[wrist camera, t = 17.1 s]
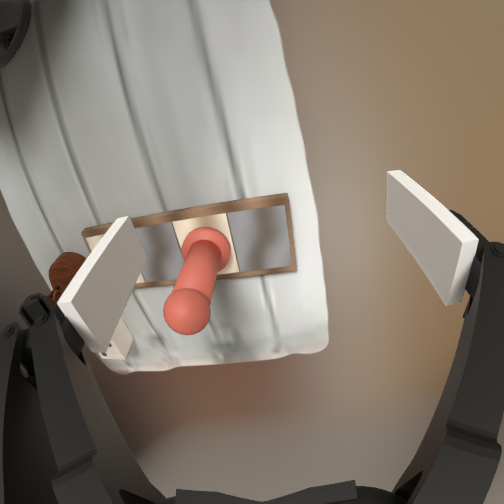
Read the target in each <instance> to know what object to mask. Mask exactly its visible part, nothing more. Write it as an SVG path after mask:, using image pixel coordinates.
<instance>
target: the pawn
mask: <svg viewBox="0 0 504 504" xmlns="http://www.w3.org/2000/svg"><path fill="white" fill-rule="evenodd" d="M230 253H231V246H230V243H229V240H228V239H227V237H226V236H225V235H224V234H223V233H222V232H220V231H219V230H217V229H214V228H211V227H199V228H196V229H194V230H192V231H191V232H189V233H188V235H187V236H186V238H185V240H184V242H183V244H182V247H181V254H182V257H183V260H184V264H183V266H182V269H181V271H180V273H179V276H178V278H177V281H176V283H175V286H174V288H173V291H172V294H170V295H169V297H168V298H167V300H166V301H165V304H164V310H163V312H164V318H165V321H166V323H167V324H168V326H169V327H170V328H171V329H172V330H173V331H175V332H177V333H179V334H182V335H193V334H196V333H198V332H200V331H201V330H202V329H204V328H205V326H206V325H207V323H208V321H209V319H210V302H211V298H212V294H213V289H214V285H215V281H216V276H217V272H219V271H221V270H222V269H224V268H225V267H226V265H227V264H228V262H229V258H230Z"/></svg>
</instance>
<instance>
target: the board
mask: <svg viewBox="0 0 504 504" xmlns="http://www.w3.org/2000/svg"><path fill="white" fill-rule="evenodd" d="M131 221H132V224H133V226H134V229H135V231H136V233H137V236H138V238H139V241H140V243H141V246H142V248H143V250H144V253H145V255H146V257H147V260H146V262H145V264H144V266H143V269H142V271H141V273H140V275H139V277H138V279H137V281H136V283H135V286H134V288H141V287H152V286H162V285H172V284H175V283H176V281H177V278H178V276H179V273H180V271H181V269H182V266H183V264H184V260H183V257H182V254H181V247H182V244H183V242H184V240H185V238H186V236H187V235H188V233H189V232H191V231H192V230H194V229H196V228H199V227H211V228H214V229H217V230H219V231H220V232H222V233H223V234H224V235H225V236H226V237H227V239H228V240H229V243H230V246H231V253H230V258H229V262H228V264H227V265H226V267H225V268H224V269H222V270H221V271H219V272H217V276H216V280H219V279H228V278H237V277H246V276H254V275H263V274H271V273H279V272H288V271H296V270H297V269H296V260H295V251H294V242H293V233H292V225H291V216H290V208H289V201H288V194H287V193H283V194H276V195H268V196H261V197H254V198H247V199H240V200H234V201H227V202H221V203H215V204H209V205H203V206H197V207H191V208H185V209H179V210H174V211H168V212H163V213H158V214H152V215H147V216H142V217H137V218H132V219H131ZM113 223H114V222H113ZM113 223H108V224H103V225H99V226H94V227H90V228H85V229H84V230H83V231H82V232H81V233H82V236H83V238H84V240H85V243H86V245H87V247H88V249H89V252H90V253H91V252H92V251H93V249H94V248H95V247H96V245H97V244H98V243H99V241H100V240H101V239H102V237H103V236H104V235H105V233H106V232H107V231H108V229H109V228H110V227H111V226H112V224H113Z"/></svg>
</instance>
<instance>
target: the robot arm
mask: <svg viewBox="0 0 504 504" xmlns="http://www.w3.org/2000/svg"><path fill="white" fill-rule="evenodd" d="M29 19H30V1H29V0H0V68H1V67H2V66H4V65H5V64H6V63H7V62H8V61H9V60H10V59H11V58H12V57H13V56H14V54H15V53H16V51H17V50H18V48H19V46H20V45H21V43H22V41H23V38H24V36H25V33H26V31H27V28H28V24H29ZM386 215H387V216H386V221H387V222H388V223H389V225H390V226H391V227H392V229H393V230H394V231H395V233H396V234H397V235H398V237H399V238H400V239H401V241H402V242H403V243H404V245H405V246H406V247H407V249H408V250H409V252H410V253H411V254H412V256H413V257H414V258H415V260H416V261H417V263H418V264H419V266H420V267H421V269H422V270H423V272H424V273H425V275H426V276H427V277H428V279H429V281H430V282H431V284H432V285H433V287H434V288H435V290H436V291H437V293H438V295H439V296H440V297H441V299H442V301H443V302H444V304H445V306H448V305H451V304H455V303H458V302H461V301H462V298H463V295H464V292H465V289H466V290H467V292H468V293H469V295H470V298H469V301H468V304H467V307H466V309H465V312H464V315H463V318H464V323H463V327H462V331H461V335H460V339H459V343H458V347H457V350H456V353H455V357H454V360H453V363H452V366H451V369H450V372H449V376H448V379H447V382H446V385H445V387H444V390H443V393H442V395H441V398H440V401H439V403H438V406H437V408H436V411H435V413H434V415H433V418H432V420H431V423H430V425H429V427H428V429H427V432H426V434H425V436H424V438H423V440H422V442H421V444H420V446H419V449H418V450H417V452H416V454H415V456H414V458H413V460H412V461H411V463H410V465H409V466H408V467H407V469H406V470H405V472H404V473H403V475H402V476H401V478H400V479H399V481H398V482H397V484H396V486H395V487H394V489H393V491H392V492H389V491H386V490H383V489H379V488H374V487H366V486H356V484H355V480H351V481H346V482H341V483H336V484H330V485H324V486H317V487H310V488H307V489H304V490H301V491H298V492H295V493H293V494H289V495H286V496H283V497H279V498H276V499H273V500H269V501H264V502H259V501H254V500H249V499H244V498H239V497H235V496H231V495H226V494H223V493H219V492H208V491H192V490H181V489H176V496H174V497H170V498H165V497H164V495H162V493H161V492H160V491H159V490H157V489H156V488H155V487H154V486H153V485H152V484H151V483H150V482H149V480H148V479H147V477H146V476H145V474H144V473H143V471H142V469H141V468H140V466H139V464H138V463H137V461H136V459H135V458H134V456H133V454H132V453H131V451H130V449H129V447H128V445H127V444H126V442H125V440H124V438H123V436H122V434H121V432H120V431H119V429H118V427H117V425H116V423H115V421H114V419H113V417H112V415H111V413H110V410H109V408H108V406H107V404H106V402H105V400H104V398H103V395H102V393H101V391H100V389H99V386H98V384H97V382H96V379H95V377H94V374H93V372H92V369H91V367H90V365H89V361H88V359H87V356H86V355H85V353H84V352H83V351H82V347H83V346H84V343H85V344H86V345H87V347H88V348H89V349H90V350H91V351H92V352H94V353H106V352H107V349H108V346H109V344H110V341H111V339H112V337H113V334H114V332H115V329H116V327H117V324H118V322H119V320H120V317H121V315H122V313H123V310H124V308H125V306H126V303H127V301H128V299H129V297H130V294H131V292H132V290H133V288H134V286H135V283H136V281H137V279H138V277H139V275H140V273H141V271H142V269H143V266H144V264H145V262H146V260H147V257H146V255H145V253H144V250H143V248H142V246H141V243H140V241H139V238H138V236H137V233H136V231H135V229H134V226H133V224H132V221H131V219H130V216H125V217H121V218H117V219H116V221H115V222H114V223H113V224H112V226H111V227H110V228H109V229H108V231H107V232H106V233H105V235H104V236H103V237H102V239H101V240H100V241H99V243H98V244H97V245H96V247H95V248H94V249H93V251H92V252H91V253H90V255H89V256H88V258H87V259H86V260H85V262H84V263H83V265H82V266H81V268H80V269H79V270H78V272H77V273H76V275H75V276H74V277H73V278H72V279H71V281H70V282H69V284H68V286H67V287H66V288H65V290H64V292H63V293H62V294H61V296H60V297H59V299H58V300H57V302H56V304H55V305H54V307H53V308H51V307H50V305H49V304H48V302H47V301H46V299H45V298H44V296H43V295H42V294H41V293H38V294H34V295H32V296H30V297H29V298H28V299H27V300H25V302H24V303H23V304H22V305H21V307H20V309H19V313H20V315H21V316H22V318H23V319H24V320H25V322H26V323H27V324H28V326H29V327H30V328H28V329H25V330H23V329H22V328H21V327H20V326H19V324H18V323H17V322H13V323H11V324H9V325H7V326H6V327H5V328H4V329H3V331H2V332H1V334H0V504H483V502H484V500H485V498H486V495H487V493H488V491H489V488H490V486H491V483H492V480H493V478H494V475H495V473H496V470H497V467H498V464H499V461H500V457H501V452H502V450H501V445H500V444H499V443H497V436H498V432H499V428H500V424H501V421H502V417H503V412H504V244H502V243H499V242H489V241H488V240H487V239H486V238H485V237H483V235H482V234H480V232H479V231H478V230H476V229H475V228H473V226H472V225H471V224H470V223H469V222H468V221H467V220H466V219H465V218H464V217H463V216H462V215H460V214H458V213H456V212H454V211H452V210H447V209H446V208H445V207H444V206H443V205H442V204H441V203H440V202H438V201H437V200H436V199H435V198H434V197H433V196H432V195H430V194H429V193H428V192H427V191H426V190H424V189H423V188H422V187H421V186H420V185H418V184H417V183H416V182H415V181H413V180H412V179H411V178H410V177H408V176H407V175H406V174H404V173H403V172H402V171H401V170H396V171H387V212H386ZM20 367H21V368H22V369H23V370H24V371H25V372H26V377H24V376H23V375H22V374H21V370H20ZM54 457H55V458H54ZM55 460H56V463H57V466H58V470H59V474H57V475H56V467H55Z"/></svg>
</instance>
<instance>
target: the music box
mask: <svg viewBox="0 0 504 504" xmlns="http://www.w3.org/2000/svg"><path fill="white" fill-rule="evenodd" d="M85 260H86V258H85V257H83V256H81V255H79V254H77V253H73V252H66V253H63V254H61V255H60V256H59V257H58V258H57V260H56V261H55V262H54V263H53V264H52V265H51V267H50V269H49V279H50V282H51V285H52V287H53V291H52V292H51V293H50V295H49V296H45V295H43V294H42V295H43V296H44V298H45V299H46V301H47V302H48V304H49V305H50V307H51V308H53V307H54V305H55V304H56V302H57V300H58V299H59V297H60V296H61V294H62V293H63V292H64V290H65V288H66V287H67V286H68V284H69V282H70V281H71V279H72V278H73V277H74V276H75V275H76V273H77V272H78V270H79V269H80V268H81V266H82V265H83V263H84V262H85ZM33 295H34V294H33ZM30 296H32V295H30ZM30 296H29V297H30ZM29 297H27V298H26V300H27V299H28V298H29ZM24 302H25V301H24ZM26 324H27V323H26ZM27 325H28V324H27ZM28 327H29V326H28ZM29 328H30V327H29Z"/></svg>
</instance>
